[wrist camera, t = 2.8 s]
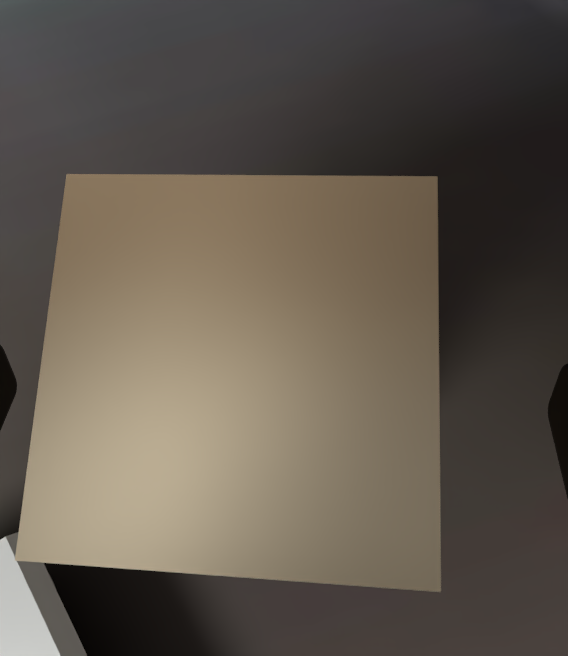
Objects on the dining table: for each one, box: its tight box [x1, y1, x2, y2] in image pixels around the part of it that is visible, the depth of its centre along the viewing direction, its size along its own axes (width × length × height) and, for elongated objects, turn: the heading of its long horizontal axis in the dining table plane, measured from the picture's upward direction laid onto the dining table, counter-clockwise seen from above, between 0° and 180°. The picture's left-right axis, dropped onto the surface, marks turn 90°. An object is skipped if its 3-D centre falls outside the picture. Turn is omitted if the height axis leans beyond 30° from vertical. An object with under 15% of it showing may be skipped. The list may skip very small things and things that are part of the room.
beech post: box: [15, 174, 441, 592], centre depth 11 cm, size 4×4×11 cm
